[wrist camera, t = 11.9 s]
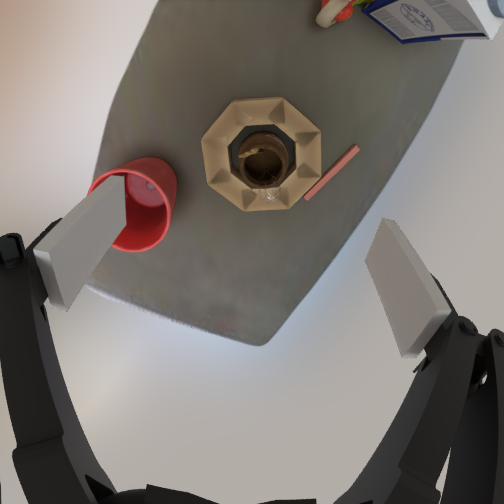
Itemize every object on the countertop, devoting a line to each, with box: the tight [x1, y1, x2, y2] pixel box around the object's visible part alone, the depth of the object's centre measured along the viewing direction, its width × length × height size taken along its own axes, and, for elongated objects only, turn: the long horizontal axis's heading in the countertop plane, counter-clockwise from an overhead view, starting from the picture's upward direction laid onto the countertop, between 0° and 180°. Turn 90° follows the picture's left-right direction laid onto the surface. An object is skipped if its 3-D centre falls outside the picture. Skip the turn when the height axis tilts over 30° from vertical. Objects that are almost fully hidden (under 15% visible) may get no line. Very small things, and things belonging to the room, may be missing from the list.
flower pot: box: [87, 157, 177, 252], centre depth 35 cm, size 11×11×10 cm
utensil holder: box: [238, 131, 289, 204], centre depth 32 cm, size 6×6×12 cm
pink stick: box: [303, 144, 360, 201], centre depth 37 cm, size 10×1×1 cm, turn 140°
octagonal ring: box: [201, 97, 321, 211], centre depth 35 cm, size 14×14×3 cm
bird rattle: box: [316, 0, 375, 28], centre depth 21 cm, size 6×11×9 cm
